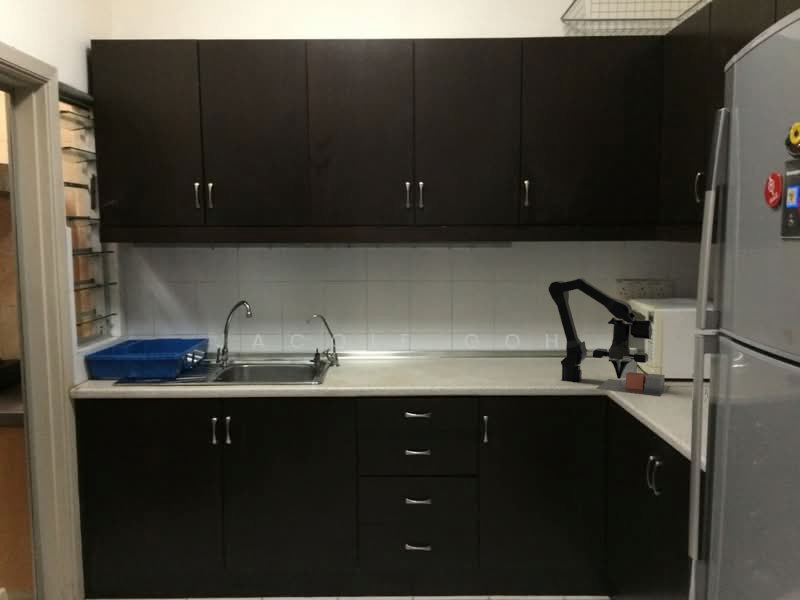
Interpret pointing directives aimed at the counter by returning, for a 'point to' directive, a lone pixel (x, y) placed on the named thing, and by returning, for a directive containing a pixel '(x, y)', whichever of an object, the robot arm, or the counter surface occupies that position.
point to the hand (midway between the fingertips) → (619, 378)
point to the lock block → (635, 380)
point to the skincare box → (630, 364)
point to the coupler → (650, 387)
